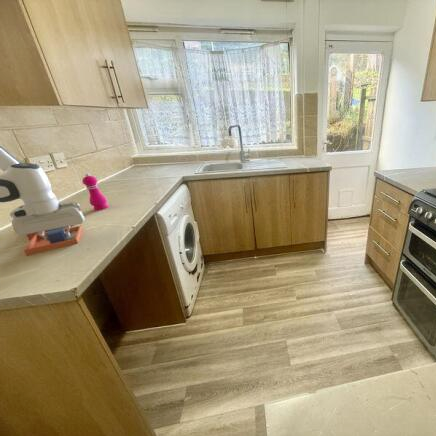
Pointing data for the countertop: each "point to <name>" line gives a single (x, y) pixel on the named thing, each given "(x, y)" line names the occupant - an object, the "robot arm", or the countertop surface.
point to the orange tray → (41, 245)
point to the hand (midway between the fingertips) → (58, 238)
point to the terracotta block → (32, 235)
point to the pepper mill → (94, 193)
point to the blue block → (56, 236)
